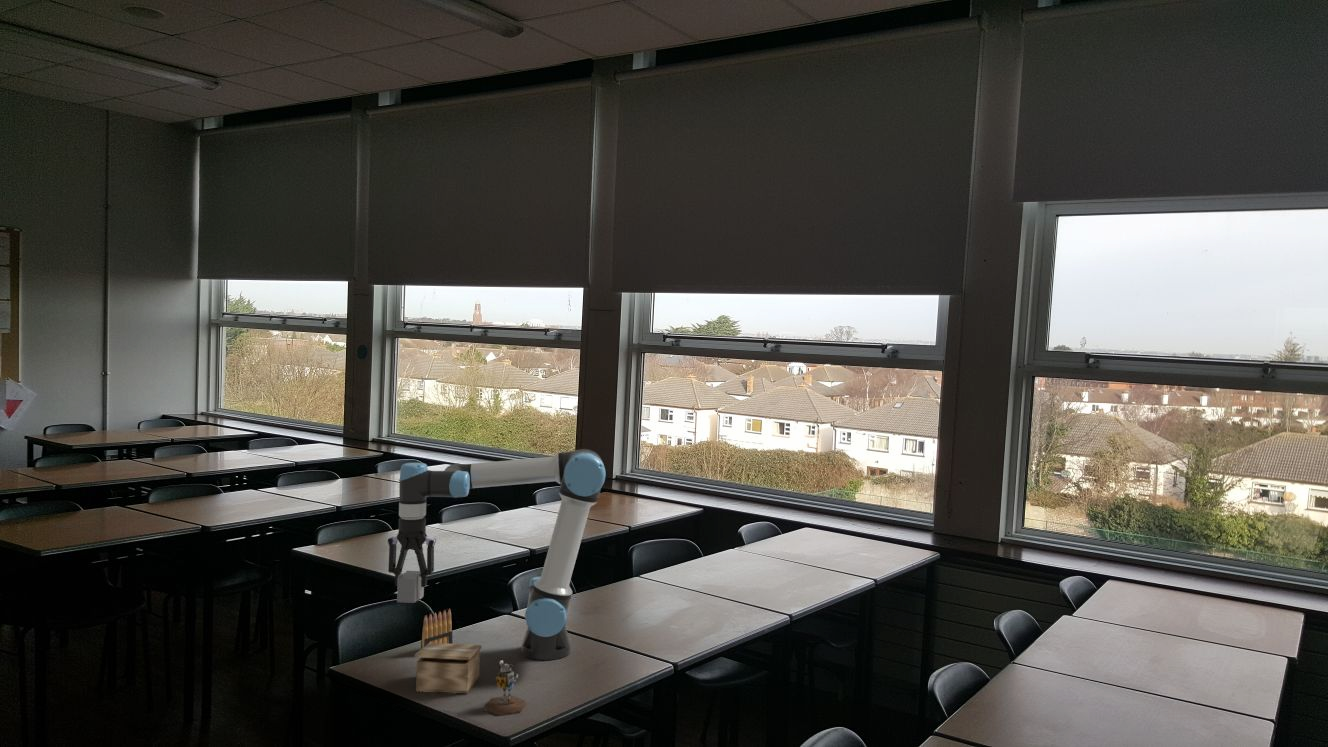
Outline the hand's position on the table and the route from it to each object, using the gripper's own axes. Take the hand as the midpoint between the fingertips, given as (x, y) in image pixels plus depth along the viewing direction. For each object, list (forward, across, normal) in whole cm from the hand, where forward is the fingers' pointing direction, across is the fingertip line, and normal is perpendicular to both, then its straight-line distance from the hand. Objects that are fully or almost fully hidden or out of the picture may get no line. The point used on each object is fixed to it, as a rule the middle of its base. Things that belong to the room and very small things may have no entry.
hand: (410, 597), depth 245 cm
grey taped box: (0, 0, 0) cm, 0 cm away
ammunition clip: (+21, -3, -15) cm, 26 cm away
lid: (+12, -15, +10) cm, 21 cm away
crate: (+21, -15, +10) cm, 27 cm away
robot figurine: (+21, -34, +23) cm, 46 cm away
